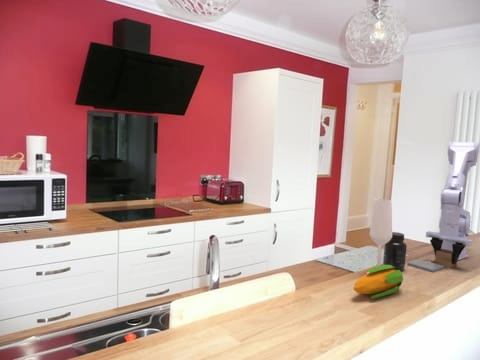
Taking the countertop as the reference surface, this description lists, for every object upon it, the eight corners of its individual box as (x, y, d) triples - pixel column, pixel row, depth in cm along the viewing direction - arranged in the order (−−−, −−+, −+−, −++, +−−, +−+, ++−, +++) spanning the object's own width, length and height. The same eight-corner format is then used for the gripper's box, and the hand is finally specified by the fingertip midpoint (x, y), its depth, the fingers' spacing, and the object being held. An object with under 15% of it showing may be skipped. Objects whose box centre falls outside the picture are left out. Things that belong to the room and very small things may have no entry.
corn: (410, 264, 108) (368, 277, 96) (410, 291, 108) (368, 307, 96) (386, 259, 114) (344, 270, 102) (386, 284, 114) (344, 298, 102)
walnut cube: (441, 262, 138) (442, 248, 137) (456, 266, 134) (457, 252, 133) (434, 264, 134) (436, 250, 134) (449, 268, 131) (451, 254, 130)
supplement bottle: (378, 266, 130) (380, 231, 129) (393, 264, 133) (395, 230, 131) (394, 272, 124) (397, 236, 122) (409, 270, 126) (412, 235, 125)
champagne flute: (381, 280, 116) (388, 202, 114) (362, 274, 121) (367, 199, 119) (393, 276, 120) (399, 201, 118) (373, 270, 125) (379, 198, 123)
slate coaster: (418, 261, 138) (419, 259, 137) (444, 268, 130) (444, 266, 130) (407, 264, 133) (407, 262, 133) (433, 272, 126) (433, 270, 125)
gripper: (423, 220, 136) (419, 257, 137) (467, 228, 124) (463, 269, 126) (432, 218, 140) (429, 254, 141) (475, 226, 129) (472, 265, 130)
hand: (445, 261), depth 134 cm, fingers closed on walnut cube, 5 cm apart
